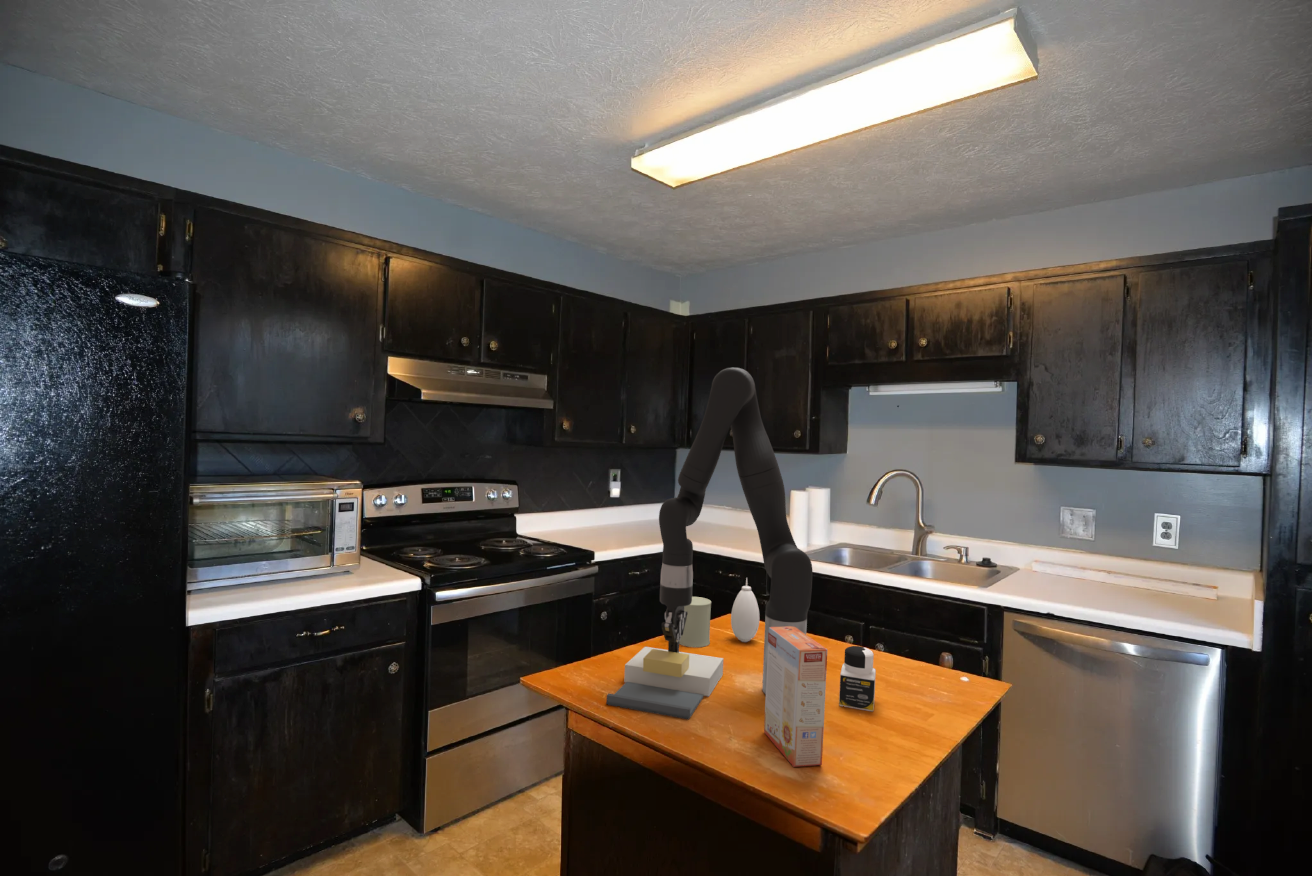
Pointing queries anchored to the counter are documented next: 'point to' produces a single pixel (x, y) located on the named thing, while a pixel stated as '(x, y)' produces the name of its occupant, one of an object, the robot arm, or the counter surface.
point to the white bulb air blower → (745, 615)
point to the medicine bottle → (857, 679)
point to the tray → (655, 700)
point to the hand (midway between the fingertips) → (673, 656)
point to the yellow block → (666, 663)
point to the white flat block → (694, 680)
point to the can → (697, 623)
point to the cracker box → (795, 695)
